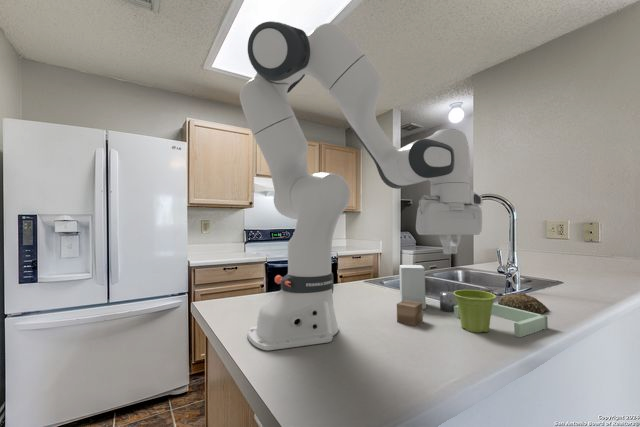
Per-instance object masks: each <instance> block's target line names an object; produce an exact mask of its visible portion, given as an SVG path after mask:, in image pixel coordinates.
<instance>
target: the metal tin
mask: <svg viewBox="0 0 640 427" xmlns="http://www.w3.org/2000/svg"><path fill="white" fill-rule="evenodd" d="M453 292H454V291H444V290H443V291H440V292H439V309H440V311H442V312H446V313H454V306H457V305H458V303H457V301H456V297H455V295H454V294H453Z"/></svg>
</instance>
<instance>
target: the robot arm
mask: <svg viewBox="0 0 640 427" xmlns="http://www.w3.org/2000/svg"><path fill="white" fill-rule="evenodd" d="M247 55H248V59H249V62H250V64H251V66H252V68H253V69H254V71H255V72H256V75H255V76H254V77H253V78H251V79H250V80H248V81H246V83H245V84H244V85H243V86H242V87H241V89H240V91H239V102H240V104H241V105H240V106H241V108H242V111H243V114H244V116H245V119H246V122H247V125H248V127H249V129H250V131H251V133H252V136H253V137H254V139H255V141H256V144H257V145H258V148H259V149H260V151H261V154H262V156H263V158H264V159H265V163H266V164H267V167H268V170H269V173H270V176H271V179H272V180H271V181H272V184H273V189H274V194H273V204H274V208H275V209H276V212H278V213H279V214H280V215H282V216H284V217H286V218H289V219H291V220H296V225H295V228H294V232H293V234H292V236H291V237H290V239H289V240H288V244H287V274H286V275H284V276H281V275H280V274H277V275H276V276H275V277H274V282H275V284H277V285H280V290H279V291H278V292H277V293H276V294H274V295H273V296H272V297H271V298H269V300H268V301H267V302H265V303H264V304H263V305H262V306H261V307H260V308H259V310H258V315H257V321H256V325H253V326H251V327H249V329H248V330H247V339H248V340H249V342H250V343H251V344H252V345H253V346H254V347H256V348H258V349H260V350H262V351H273V350H274V351H275V350H280V349H281V350H282V349H290V348H296V347H298V348H299V347H303V346H311V345H318V344H325V343H330V342H332V341H333V338H334V336H335V335H336V334H338V333H339V330H340V327H339V323H338V320H337V317H336V312H335V307H334V306H335V305H334V299H333V298H334V297H333V293H334V273H333V272H332V246H333V237H334V235H335V230H336V227H337V224H338V221H339V220H340V217H341V215H342V214H343V213H344V211H345V210H346V209H347V208H348V206H349V205H350V201H351V190H350V185H349V184H348V182H347V180H346V179H345V178H344V177H343V176H342V175H340V174H338V173H333V172H317V173H312V174H311V173H310V172H309V169H308V163H307V162H308V161H307V156H308V155H307V154H308V153H309V143H308V141H307V139H306V137H305V135H304V132H303V130H302V128H301V126H300V124H299V120H298V119H297V117H296V115H295V112H294V111H293V108H292V106H291V104H290V101H289V98H288V94H289V93H290V92H291V91H292V90H294V88H295V87H296V86H297V85H298V84H299V83H300V82H301V81H302V80H303V79H304V77H305V76H306V75H309V76H311V77H313V78H314V79H316V81H318V82H319V83H320V85H321V86H322V88H324V89H325V91H326V92H327V93H328V94H329V95H330V97H331V98H332V99H333V100H334V102H335V103H336V104H337V105H338V107H339V109H340V110H341V112H342V113H343V115H344V117H345V120H346V122H347V124H348V126H349V127H350V129H351V131H352V132H353V134H354V135H355V136H356V138H357V140H359V142H360V144H361V145H362V146H363V148H364V150H366V152H367V153H368V155H369V156H370V158H371V159H372V160H373V162H374V164H375V166H376V169H377V172H378V174H379V177H380V179H381V180H382V181H383V183H384V184H385V185H386V186H387V187H389V188H392V189H395V190H398V189H403V188H405V187H409V186H410V185H414V184H419V183H422V182H426V181H429V182H430V195H429V194H424V195H423V196H422V197H421V198H420V199H419V201H418V207H417V212H416V219H415V220H416V221H415V230H416V233H417V234H418V235H420V236H439V241H440V243H441V245H442V253H443V254H444V255H456V254H458V247H459V245H460V242H461V238H462V236H473V235H474V236H476V235H478V236H479V235H480V234H481V233H482V229H483V210H482V207H481V206H482V205H483V203H484V202H483V201H484V200H483V199H484V198H483V197H482V196H481V195H480V194H478V193H476V192H475V191H474V190H473V189H472V188H471V181H470V179H469V169H470V158H471V157H470V147H469V140H468V138H467V136H466V134H465V133H464V132H463V131H461V130H459V129H455V128H442V129H438V130H437V131H435V132H434V133H433V134H432V135H430V136H427V137H424V138H421V139H417V140H414V141H413V142H410V143H408V144H406V145H404V146H402V147H400V148H399V147H396V146H394V144H392V142H391V140H390V139H389V138H388V136H387V135H386V133H385V132H384V130H383V129H382V127H381V125H380V124H379V122H378V120H377V116H376V112H377V111H376V110H377V105H378V102H379V100H380V97H381V92H382V78H381V75H380V73H379V71H378V70H377V67H376V65H375V64H374V63H373V62H372V60H371V58H369V57H368V56H367V54H366V53H365V52H364V51H363V50H362V48H361V47H360V46H359V45H358V44H357V43H356V42H355V41H354V40H353V39H352V38H351V37H350V36H349V35H348V34H347V33H346V32H344V30H342V29H341V28H340V27H338V26H337V25H336V24H333V23H330V22H329V23H327V22H326V23H323V24H321V25H319V26H317V27H316V28H314V29H313V30H312V31H311V32H310V33H309V34H307V33H306V32H305V31H304V30H303V29H300V28H297V27H294V26H291V25H289V24H286V23H283V22H280V21H274V20H273V21H272V20H268V21H264V22H262V23H259V24H258V25H256V27H254V29H253V30H252V31H251V33H250V35H249V37H248V41H247Z"/></svg>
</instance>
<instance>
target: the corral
mask: <svg viewBox="0 0 640 427" xmlns="http://www.w3.org/2000/svg"><path fill="white" fill-rule="evenodd" d="M491 316H496V317H498V318H499V317H500V318H503V319H506V320H511V321H514V323H513V329H514V330H513V331H514V337H516V338H519V337H521V338H523V336H524V337H526V335H527V336H529V334H530V335H532V333H533V334H535V333H538V332H541V331H543V330H542V329H544V330H546V329H545V328H547V329H548V328H549V327H548V324H549V323H548V315H544V314H536V313H532V312H528V311H524V310H520V309H515V308H511V307H507V306H503V305H499V304H498V303H493V305H492V310H491ZM453 317H454V318H456V319H460V314H459V309H458V305H457V306H454V312H453ZM540 330H541V331H540ZM537 331H538V332H537ZM534 332H535V333H534Z"/></svg>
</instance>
